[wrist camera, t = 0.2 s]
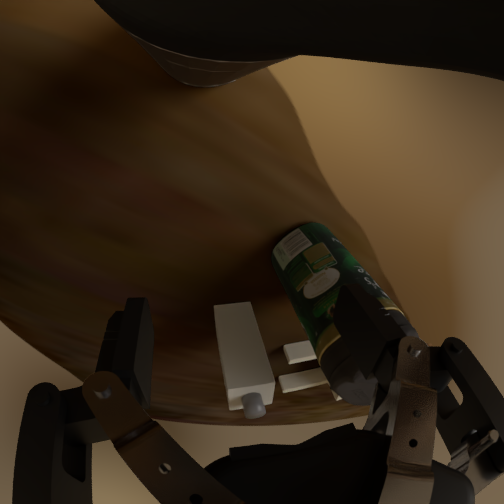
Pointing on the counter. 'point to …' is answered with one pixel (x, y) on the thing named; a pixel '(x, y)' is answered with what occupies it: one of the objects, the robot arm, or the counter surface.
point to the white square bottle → (243, 359)
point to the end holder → (304, 378)
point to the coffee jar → (328, 302)
